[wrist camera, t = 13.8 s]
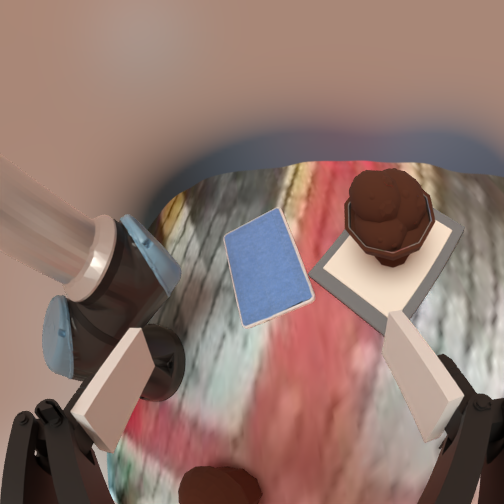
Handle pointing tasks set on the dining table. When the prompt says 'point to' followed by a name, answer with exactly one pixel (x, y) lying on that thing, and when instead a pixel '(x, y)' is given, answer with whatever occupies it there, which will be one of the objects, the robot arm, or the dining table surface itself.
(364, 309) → the mat
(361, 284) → the sheet
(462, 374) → the robot arm
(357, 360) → the dining table surface
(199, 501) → the muffin
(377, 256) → the ice cream bowl
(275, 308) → the tablet computer
